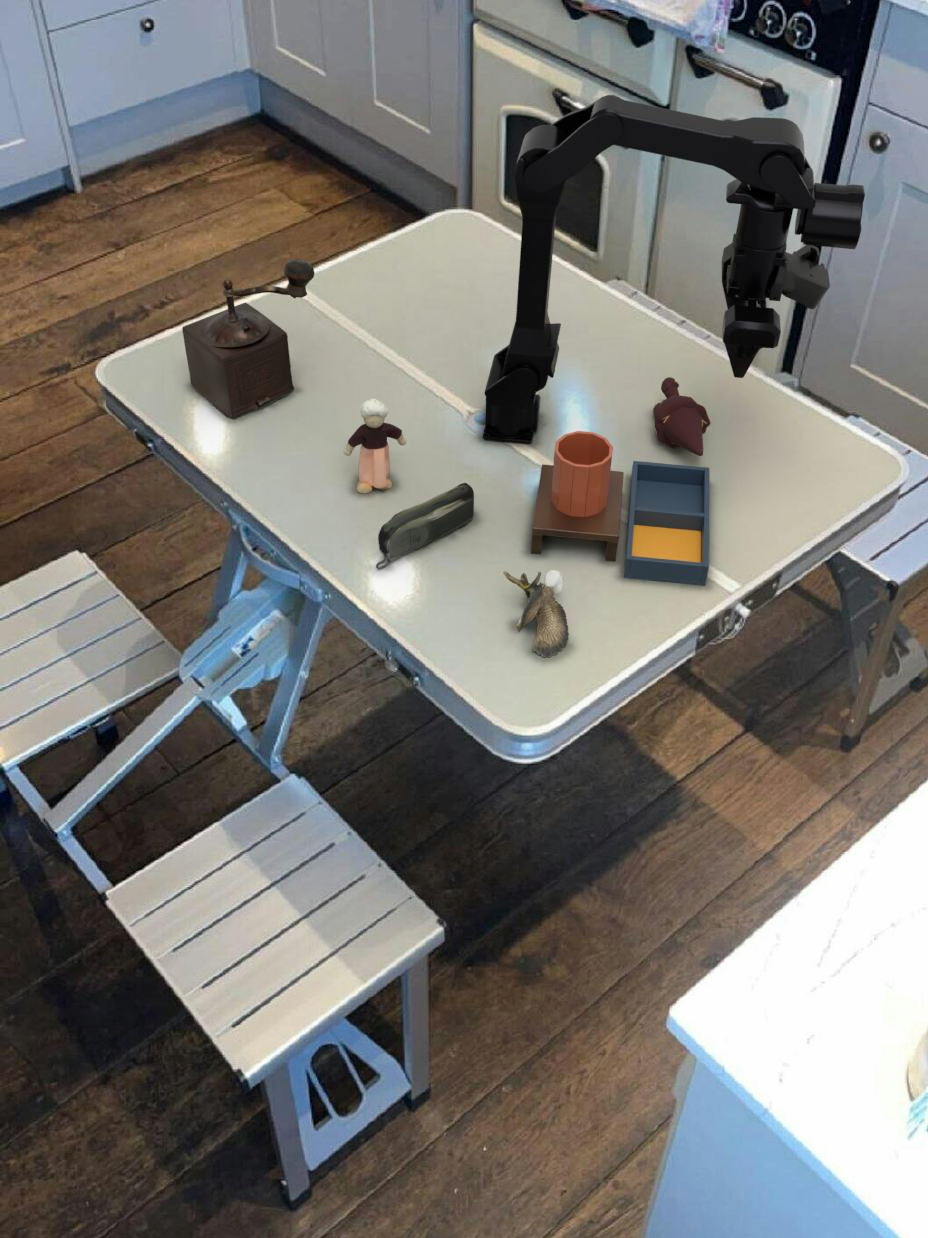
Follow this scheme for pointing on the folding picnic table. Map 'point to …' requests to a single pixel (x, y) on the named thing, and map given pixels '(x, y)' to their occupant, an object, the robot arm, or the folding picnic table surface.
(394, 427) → the grandmother figurine
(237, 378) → the coffee grinder
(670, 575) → the blue divided tray
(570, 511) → the cup
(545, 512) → the brown low table
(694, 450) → the maroon cone-shaped figurine
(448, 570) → the folding picnic table surface
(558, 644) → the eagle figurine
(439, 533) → the dark green rounded bar
